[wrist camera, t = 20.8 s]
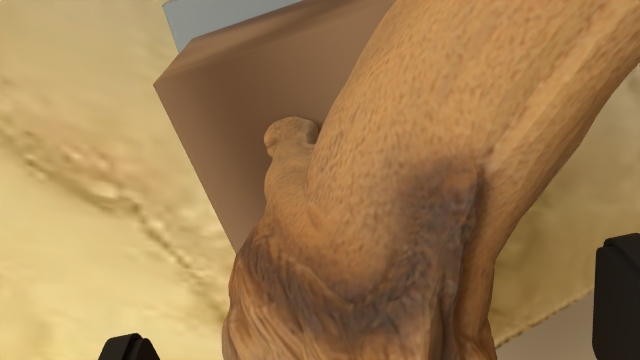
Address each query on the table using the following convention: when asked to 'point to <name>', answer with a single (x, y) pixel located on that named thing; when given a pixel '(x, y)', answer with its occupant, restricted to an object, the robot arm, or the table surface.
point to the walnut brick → (260, 93)
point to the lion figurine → (421, 178)
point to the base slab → (212, 15)
